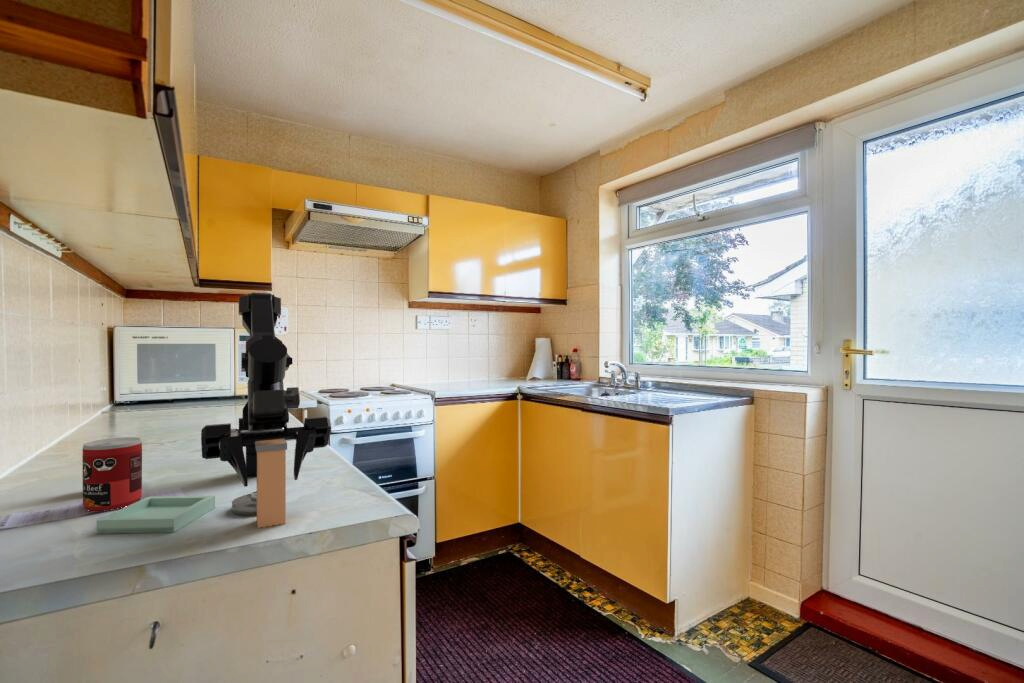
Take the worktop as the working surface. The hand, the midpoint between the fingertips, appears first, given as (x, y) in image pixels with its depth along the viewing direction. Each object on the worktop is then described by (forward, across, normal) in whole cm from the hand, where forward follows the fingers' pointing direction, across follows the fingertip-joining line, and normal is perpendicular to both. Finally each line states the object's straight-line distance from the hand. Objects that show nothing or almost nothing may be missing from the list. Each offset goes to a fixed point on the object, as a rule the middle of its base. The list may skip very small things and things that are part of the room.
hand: (271, 481), depth 76 cm
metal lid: (-2, -1, +12) cm, 12 cm away
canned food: (-12, -23, +22) cm, 34 cm away
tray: (-3, -15, +13) cm, 20 cm away
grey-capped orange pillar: (+4, 0, +6) cm, 7 cm away
